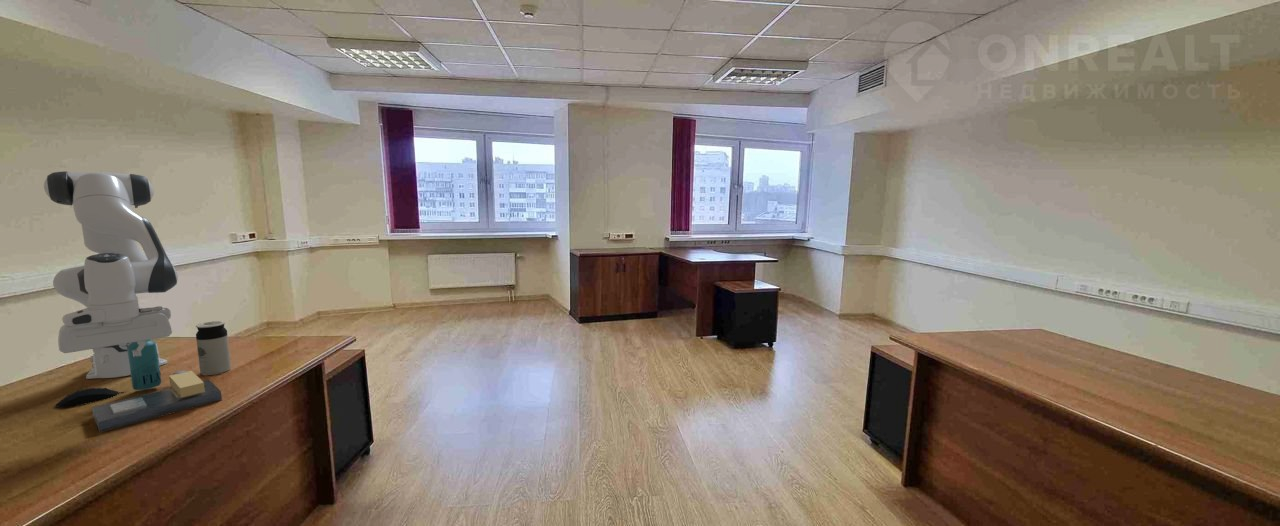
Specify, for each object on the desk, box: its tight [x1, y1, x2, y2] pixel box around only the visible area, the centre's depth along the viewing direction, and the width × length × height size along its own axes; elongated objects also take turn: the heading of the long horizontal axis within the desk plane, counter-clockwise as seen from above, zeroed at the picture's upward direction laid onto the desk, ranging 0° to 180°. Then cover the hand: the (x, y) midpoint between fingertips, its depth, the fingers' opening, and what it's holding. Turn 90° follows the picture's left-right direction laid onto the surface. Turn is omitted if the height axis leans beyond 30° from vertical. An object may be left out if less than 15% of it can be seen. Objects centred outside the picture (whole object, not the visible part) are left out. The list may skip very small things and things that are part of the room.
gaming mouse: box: [55, 387, 125, 409], centre depth 133 cm, size 6×15×4 cm, turn 143°
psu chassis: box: [91, 379, 223, 433], centre depth 129 cm, size 17×24×4 cm
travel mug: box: [195, 320, 232, 376], centre depth 154 cm, size 8×8×18 cm
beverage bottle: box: [127, 339, 162, 391], centre depth 138 cm, size 6×7×20 cm
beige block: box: [168, 370, 205, 398], centre depth 133 cm, size 18×5×3 cm, turn 56°
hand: (121, 359), depth 121 cm, fingers open, 4 cm apart
